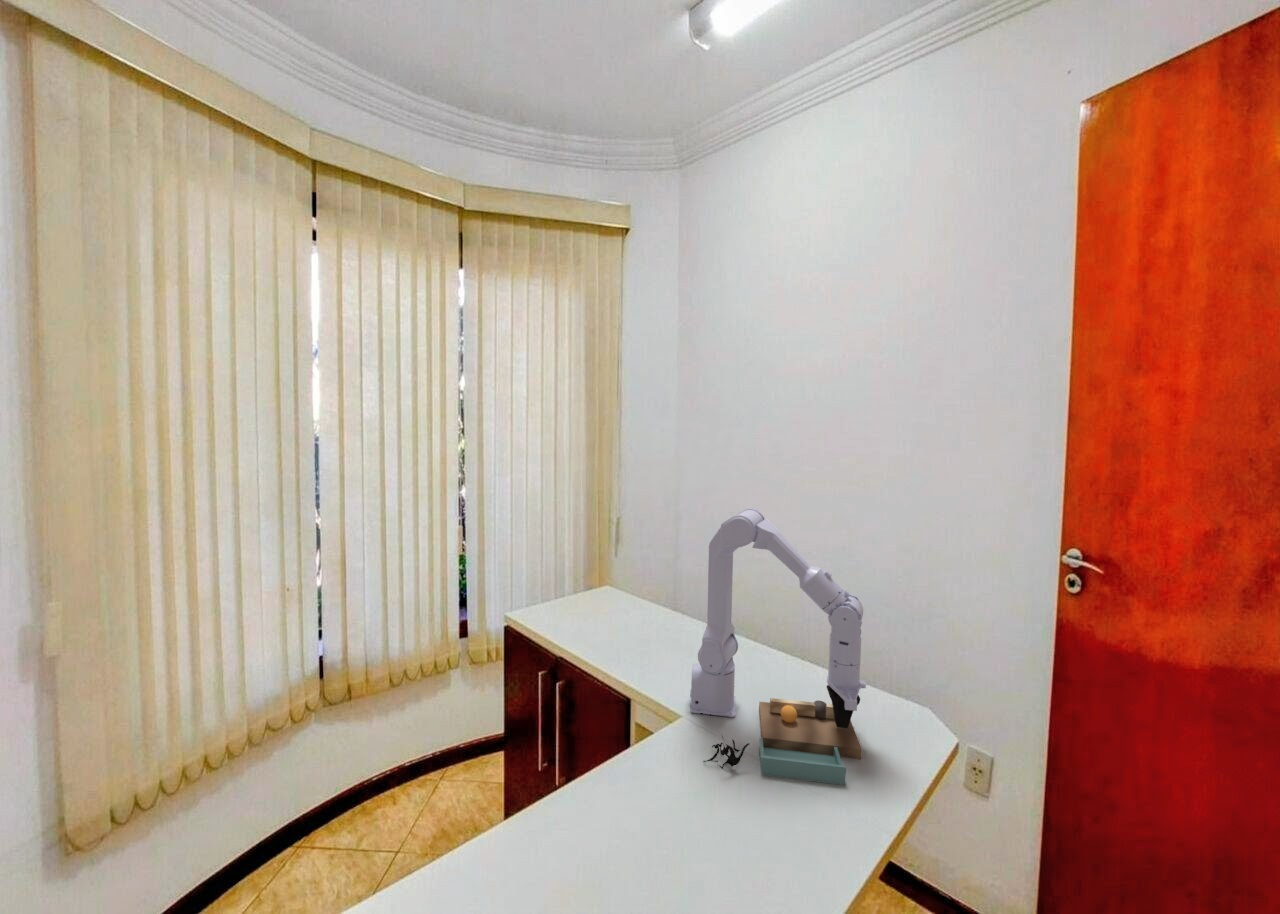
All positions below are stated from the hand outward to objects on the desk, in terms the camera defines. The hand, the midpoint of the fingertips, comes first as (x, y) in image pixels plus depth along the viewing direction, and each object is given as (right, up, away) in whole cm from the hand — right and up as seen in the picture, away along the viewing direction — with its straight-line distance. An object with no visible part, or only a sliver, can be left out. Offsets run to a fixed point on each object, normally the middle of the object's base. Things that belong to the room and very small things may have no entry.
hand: (841, 725), depth 104 cm
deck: (-6, -3, +2) cm, 7 cm away
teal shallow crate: (-10, -3, -7) cm, 13 cm away
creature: (-24, -4, -6) cm, 25 cm away
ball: (-10, -1, +3) cm, 10 cm away
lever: (-5, 0, +5) cm, 7 cm away
